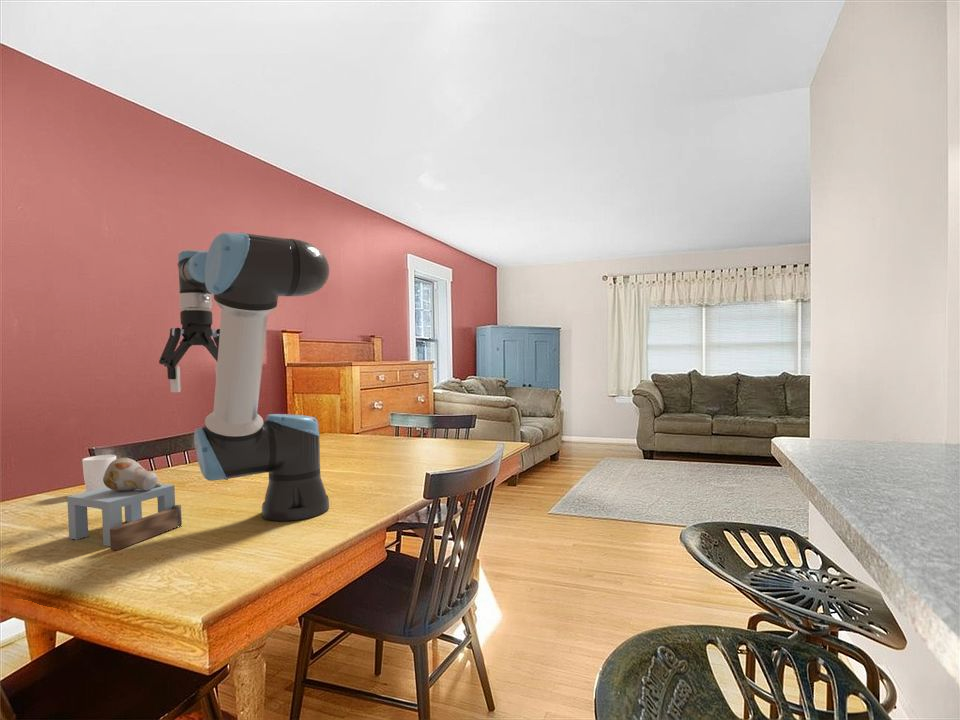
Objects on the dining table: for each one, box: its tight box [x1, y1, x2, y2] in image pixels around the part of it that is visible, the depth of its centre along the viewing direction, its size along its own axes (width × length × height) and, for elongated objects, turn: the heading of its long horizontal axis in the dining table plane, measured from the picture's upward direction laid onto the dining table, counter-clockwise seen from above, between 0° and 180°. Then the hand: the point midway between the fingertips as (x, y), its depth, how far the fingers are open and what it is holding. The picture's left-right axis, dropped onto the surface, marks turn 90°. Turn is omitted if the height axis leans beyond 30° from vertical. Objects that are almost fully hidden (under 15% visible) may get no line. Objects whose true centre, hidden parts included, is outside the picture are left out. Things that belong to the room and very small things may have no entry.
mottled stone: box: [103, 457, 162, 491], centre depth 116 cm, size 8×10×10 cm
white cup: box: [81, 454, 117, 492], centre depth 151 cm, size 8×8×10 cm
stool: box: [66, 483, 176, 548], centre depth 116 cm, size 14×14×9 cm
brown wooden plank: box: [110, 504, 183, 551], centre depth 112 cm, size 15×2×5 cm, turn 162°
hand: (199, 390), depth 142 cm, fingers open, 13 cm apart
